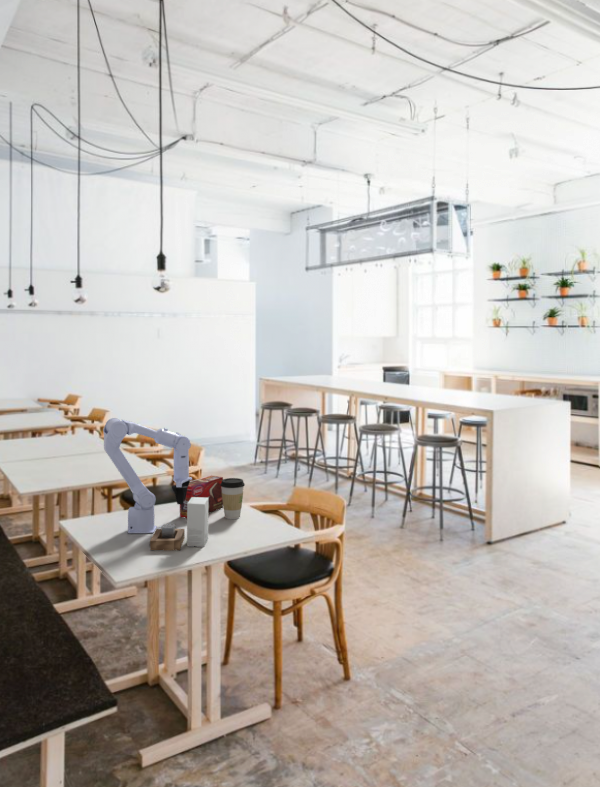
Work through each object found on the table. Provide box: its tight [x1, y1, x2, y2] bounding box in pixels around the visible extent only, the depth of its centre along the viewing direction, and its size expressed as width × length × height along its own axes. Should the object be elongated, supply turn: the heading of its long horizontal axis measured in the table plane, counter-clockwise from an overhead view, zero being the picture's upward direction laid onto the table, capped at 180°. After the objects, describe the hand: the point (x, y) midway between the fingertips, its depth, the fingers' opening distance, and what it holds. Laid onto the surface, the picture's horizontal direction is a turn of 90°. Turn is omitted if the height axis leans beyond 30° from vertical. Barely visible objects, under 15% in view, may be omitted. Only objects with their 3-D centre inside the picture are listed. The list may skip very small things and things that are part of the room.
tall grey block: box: [161, 524, 176, 539], centre depth 223 cm, size 4×4×6 cm
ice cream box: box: [178, 474, 224, 519], centre depth 263 cm, size 20×6×13 cm, turn 149°
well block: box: [149, 528, 186, 551], centre depth 223 cm, size 10×13×4 cm
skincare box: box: [186, 497, 209, 548], centre depth 224 cm, size 8×7×16 cm
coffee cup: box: [220, 477, 246, 520], centre depth 256 cm, size 10×10×15 cm
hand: (181, 501), depth 244 cm, fingers open, 7 cm apart
